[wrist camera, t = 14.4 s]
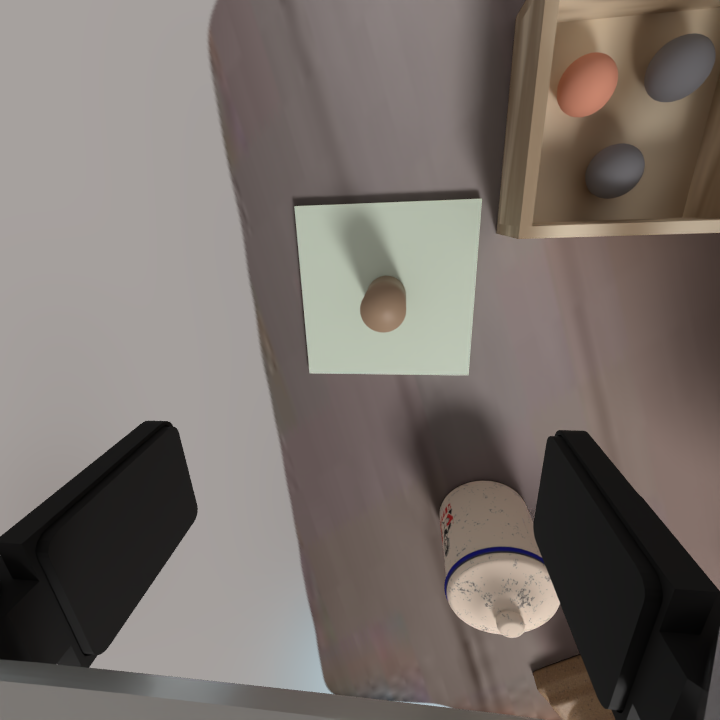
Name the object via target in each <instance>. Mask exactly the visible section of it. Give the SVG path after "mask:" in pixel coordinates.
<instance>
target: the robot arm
mask: <svg viewBox="0 0 720 720" xmlns="http://www.w3.org/2000/svg"><path fill="white" fill-rule="evenodd" d="M197 509H198V508H197V503H196V499H195V495H194V491H193V487H192V483H191V479H190V475H189V471H188V467H187V464H186V459H185V456H184V452H183V447H182V444H181V440H180V436H179V432H178V430H177V428H175V427H173V426H172V424H171V423H170V422H168V421H145V422H143V423H142V424H140V425H139V426H138V427H137V428H135V429H134V430H133V431H132V432H130V433H129V434H128V435H127V436H125V437H124V438H123V439H122V440H120V441H119V442H118V443H117V444H115V445H114V446H113V447H112V448H110V449H109V450H108V451H107V452H105V453H104V454H103V455H102V456H100V457H99V458H98V459H97V460H95V461H94V462H93V463H92V464H90V465H89V466H88V467H87V468H85V469H84V470H83V471H82V472H80V473H79V474H78V475H77V476H75V477H74V478H73V479H72V480H70V481H69V482H68V483H67V484H65V485H64V486H63V487H62V488H60V489H59V490H58V491H57V492H55V493H54V494H53V495H52V496H50V497H49V498H48V499H47V500H45V501H44V502H43V503H42V504H41V505H40V506H38V507H37V508H36V509H34V510H33V511H32V512H31V513H29V514H28V515H27V516H25V517H24V518H23V519H22V520H20V521H19V522H18V523H17V524H15V525H14V526H13V527H12V528H10V529H9V530H8V531H7V532H5V533H4V534H3V535H2V536H0V720H543V719H535V718H528V717H521V716H513V715H505V714H497V713H488V712H480V711H471V710H463V709H454V708H446V707H437V706H428V705H420V704H412V703H403V702H394V701H386V700H377V699H369V698H360V697H352V696H343V695H334V694H325V693H316V692H307V691H298V690H289V689H280V688H271V687H262V686H254V685H244V684H235V683H226V682H217V681H208V680H199V679H190V678H181V677H172V676H161V675H152V674H143V673H133V672H124V671H114V670H105V669H95V668H89V667H90V665H91V664H92V662H93V661H94V659H95V658H96V657H97V655H99V654H102V653H103V652H104V651H105V650H106V649H107V648H108V647H109V645H110V644H111V643H112V641H113V640H114V638H115V637H116V635H117V634H118V632H119V631H120V629H121V628H122V626H123V625H124V623H125V622H126V620H127V619H128V618H129V616H130V614H131V613H132V612H133V610H134V609H135V607H136V606H137V604H138V603H139V601H140V600H141V598H142V597H143V596H144V594H145V593H146V591H147V590H148V588H149V587H150V585H151V584H152V583H153V581H154V580H155V578H156V576H157V575H158V574H159V572H160V571H161V569H162V568H163V566H164V565H165V564H166V562H167V561H168V559H169V558H170V556H171V555H172V553H173V552H174V550H175V549H176V547H177V546H178V544H179V543H180V541H181V540H182V538H183V537H184V536H185V534H186V533H187V531H188V530H189V528H190V527H191V525H192V524H193V523H194V520H195V519H196V516H197ZM533 530H534V537H535V540H536V543H537V546H538V548H539V551H540V553H541V556H542V558H543V561H544V564H545V566H546V569H547V571H548V574H549V576H550V579H551V581H552V584H553V586H554V589H555V591H556V594H557V597H558V599H559V602H560V604H561V607H562V609H563V612H564V614H565V617H566V619H567V622H568V624H569V627H570V630H571V632H572V635H573V637H574V640H575V642H576V645H577V647H578V650H579V652H580V655H581V657H582V660H583V663H584V665H585V668H586V670H587V673H588V675H589V678H590V680H591V683H592V685H593V688H594V690H595V693H596V695H597V698H598V700H599V702H600V704H601V705H602V707H604V708H605V709H611V710H612V712H613V715H614V717H615V720H720V591H719V590H718V589H717V587H716V586H715V585H714V584H713V582H712V581H711V580H710V579H709V578H708V576H707V575H706V574H705V573H704V572H703V570H702V569H701V568H700V567H699V566H698V564H697V563H696V562H695V561H694V560H693V558H692V557H691V556H690V555H689V553H688V552H687V551H686V550H685V549H684V547H683V546H682V545H681V544H680V543H679V541H678V540H677V539H676V538H675V537H674V535H673V534H672V533H671V532H670V530H669V529H668V528H667V527H666V526H665V524H664V523H663V522H662V521H661V520H660V518H659V517H658V516H657V515H656V514H655V512H654V511H653V510H652V509H651V508H650V506H649V505H648V504H647V503H646V501H645V500H644V499H643V498H642V497H641V496H640V495H639V494H638V493H637V492H636V491H635V490H634V488H633V487H632V486H631V485H630V483H629V482H628V481H627V480H626V479H625V477H624V476H623V475H622V474H621V473H620V471H619V470H618V469H617V468H616V466H615V465H614V464H613V463H612V462H611V460H610V459H609V458H608V457H607V456H606V454H605V453H604V452H603V451H602V449H601V448H600V447H599V446H598V445H597V443H596V442H595V441H594V440H593V439H592V437H591V436H590V435H589V434H588V433H587V432H586V431H569V430H559V431H557V432H556V434H555V436H550V437H548V439H547V443H546V450H545V456H544V462H543V468H542V474H541V480H540V487H539V493H538V499H537V505H536V511H535V518H534V524H533ZM57 664H58V665H57Z"/></svg>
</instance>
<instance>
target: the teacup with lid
mask: <svg viewBox="0 0 720 720" xmlns="http://www.w3.org/2000/svg"><path fill="white" fill-rule="evenodd" d="M439 518H440V527H441V536H442V545H443V553H444V562H445V571H446V579H445V595H446V598H447V600H448V602H449V604H450V606H451V608H452V609H453V611H454V612H455V613H456V615H457V616H458V617H459V618H460V619H462V620H463V621H464V622H465V623H467V624H469V625H470V626H472V627H474V628H476V629H479V630H482V631H485V632H489V633H495V634H502V635H504V636H506V637H510V638H515V637H518V636H520V635H522V634H523V632H527V631H530V630H533V629H535V628H537V627H539V626H541V625H543V624H544V623H546V622H547V621H548V620H549V619H550V618H551V617H552V616H553V615H554V614H555V613H556V611H557V609H558V607H559V605H560V602H559V599H558V597H557V594H556V591H555V589H554V586H553V584H552V581H551V579H550V576H549V574H548V571H547V569H546V566H545V564H544V561H543V558H542V556H541V553H540V551H539V548H538V546H537V543H536V540H535V537H534V530H533V521H532V519H531V516H530V514H529V511H528V509H527V507H526V504H525V502H524V501H523V499H522V498H521V496H520V495H519V494H518V493H517V492H516V491H514V490H513V489H511V488H510V487H508V486H506V485H504V484H501V483H498V482H493V481H474V482H469V483H466V484H463V485H461V486H459V487H457V488H456V489H454V490H453V491H451V492H450V493H449V494H448V495H447V496H446V498H445V499H444V501H443V503H442V505H441V507H440V513H439Z"/></svg>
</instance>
